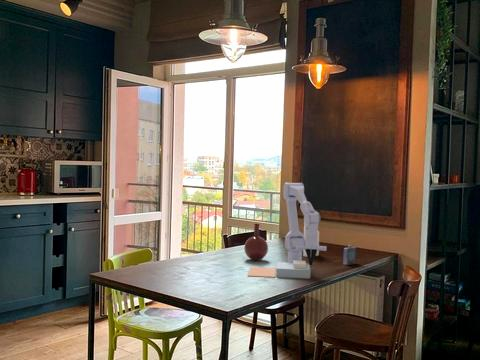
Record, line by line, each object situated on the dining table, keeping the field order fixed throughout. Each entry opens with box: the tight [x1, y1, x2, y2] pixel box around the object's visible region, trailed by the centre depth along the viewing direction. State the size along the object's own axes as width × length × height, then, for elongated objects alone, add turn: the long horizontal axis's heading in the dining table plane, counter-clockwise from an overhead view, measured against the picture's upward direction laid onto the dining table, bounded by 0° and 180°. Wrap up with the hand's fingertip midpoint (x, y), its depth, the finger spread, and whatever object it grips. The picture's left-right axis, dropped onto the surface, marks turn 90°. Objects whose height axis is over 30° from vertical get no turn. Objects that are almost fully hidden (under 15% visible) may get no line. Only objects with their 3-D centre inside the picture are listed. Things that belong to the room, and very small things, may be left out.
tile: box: [293, 260, 306, 268], centre depth 234 cm, size 8×6×2 cm
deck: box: [275, 261, 311, 279], centre depth 234 cm, size 15×16×4 cm
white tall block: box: [302, 221, 320, 258], centre depth 284 cm, size 11×7×20 cm, turn 146°
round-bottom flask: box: [243, 223, 269, 261], centre depth 266 cm, size 13×13×20 cm
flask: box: [342, 243, 357, 266], centre depth 262 cm, size 9×3×11 cm, turn 129°
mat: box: [247, 266, 277, 279], centre depth 236 cm, size 18×13×1 cm
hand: (310, 264), depth 233 cm, fingers closed
